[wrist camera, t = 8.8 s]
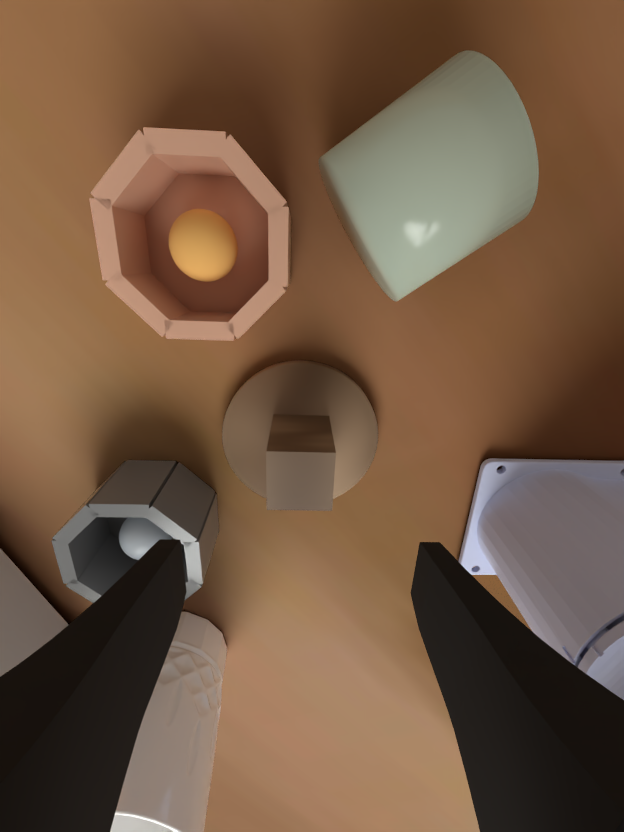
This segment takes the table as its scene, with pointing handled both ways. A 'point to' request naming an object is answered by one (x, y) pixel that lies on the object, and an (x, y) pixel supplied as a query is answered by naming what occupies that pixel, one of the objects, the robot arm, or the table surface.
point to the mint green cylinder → (435, 173)
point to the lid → (300, 434)
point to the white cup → (177, 737)
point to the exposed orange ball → (203, 245)
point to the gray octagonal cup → (139, 498)
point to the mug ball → (139, 536)
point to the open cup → (154, 216)
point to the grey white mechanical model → (23, 617)
